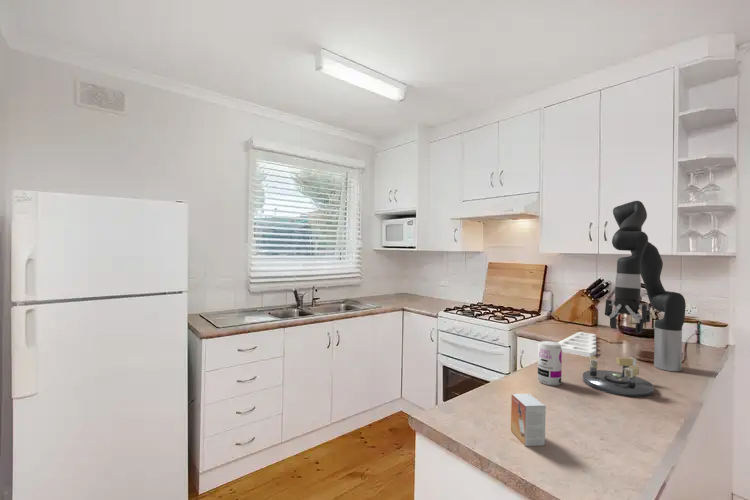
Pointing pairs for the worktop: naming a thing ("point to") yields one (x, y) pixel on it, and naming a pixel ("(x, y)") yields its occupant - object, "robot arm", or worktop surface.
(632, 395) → the base
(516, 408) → the small box
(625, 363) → the knob near
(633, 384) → the knob
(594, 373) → the knob
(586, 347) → the holder
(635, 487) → the worktop surface
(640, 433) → the worktop surface
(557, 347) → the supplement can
